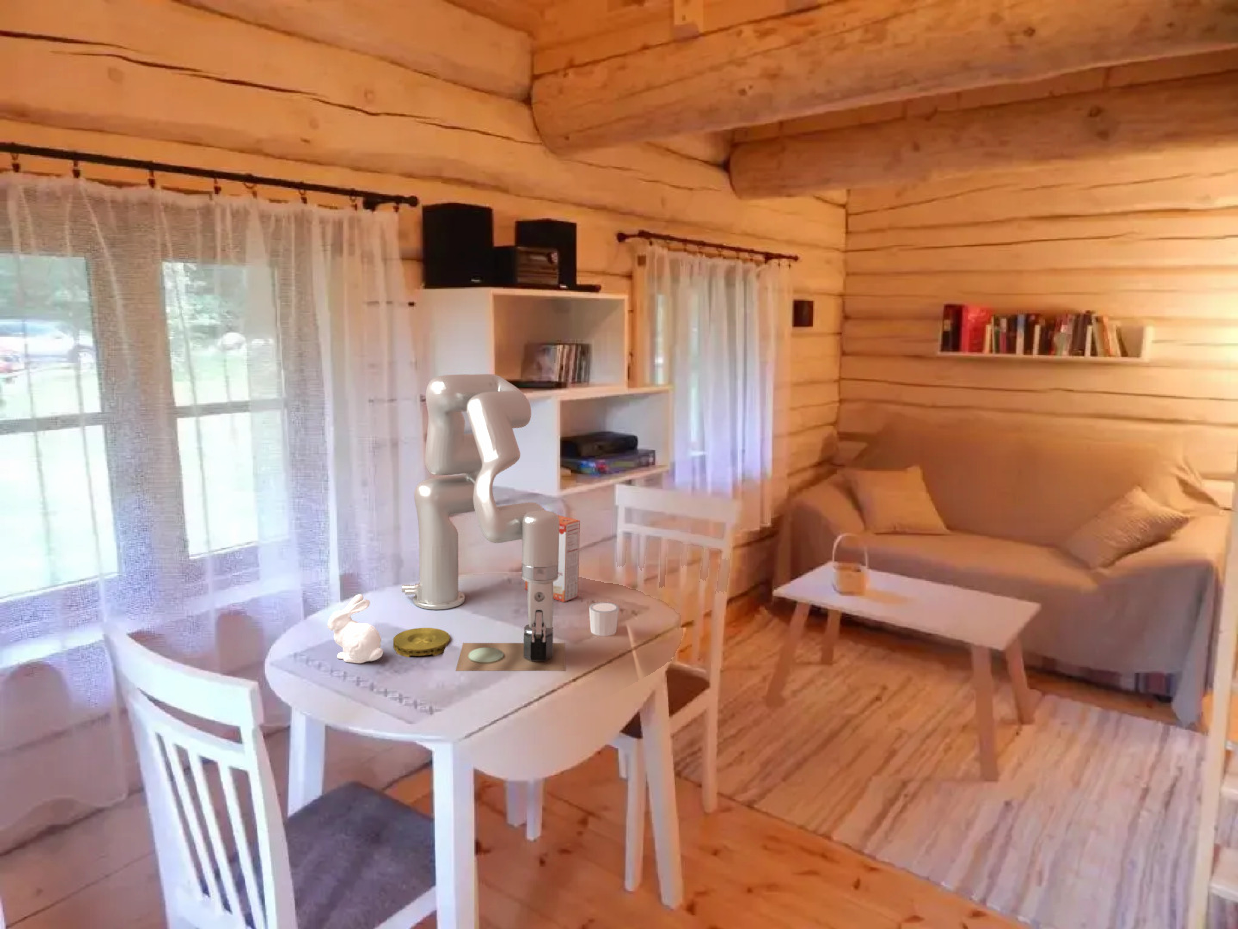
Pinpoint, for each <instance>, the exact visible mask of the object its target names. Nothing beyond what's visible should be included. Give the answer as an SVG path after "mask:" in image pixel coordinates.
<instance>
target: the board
mask: <svg viewBox="0 0 1238 929" xmlns="http://www.w3.org/2000/svg"><path fill="white" fill-rule="evenodd" d="M565 646H566V645H565V642H553V655H552V658H550V659H547V660H545V661H531V660H528V659H526V658H524V642H462V646H461V649H460V653H459V657H458V661H457V663H456V664H457V665H456V668H455V672H534V671H535V672H537V671H538V672H544V671H545V672H546V671H547V672H555V671H556V672H557V671H558V672H561V671H562V672H564V671H565V672H566V653H565V652H566V651H565Z"/></svg>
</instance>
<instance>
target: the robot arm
mask: <svg viewBox="0 0 1238 929" xmlns="http://www.w3.org/2000/svg"><path fill="white" fill-rule="evenodd" d="M425 404H426V409H427V414H428V423H427V430H426V431H427V432H426V441H425V442H426V443H425V452H424V464H425V467H426V468H425V469H426V470H427V471H428V472H429V473H430V474H432V475H435V476H437V477H431V478H428V479H425V480H422V481H421V482H419V483H418V484H417V486H415V489H414V492H413V493H414V494H413V495H414V497H413V498H414V504H415V510H416V513H417V514H416V515H417V522H418V546H419V547H418V551H419V552H418V557H419V561H418V562H419V563H418V564H419V567H418V568H419V581H418V583H415V584H402V586H401V593H404V594H405V595H408V596H411V595H414V596H413V600H412V601H413V604H414V606H416V607H418V608H422V609H426V610H446V609H447V610H448V609H453V608H456V607H458V606H461V605H463V603H464V602H465V601H466V600H465V598H466V597H465V594H464V593H463V592H461V591H460V590H459V532H458V529H457V527H456V526H455V524H454V523H453V522H452V520H451V519H450V516H453V515H458V514H459V515H460V514H465V513H471V512H475V515H476V519H477V522H478V524H479V527H480V530H481V533H482V534H483V536H484V538H485V539H486V540H487V541H489V542H491V543H493V544H501V543H507V542H512V541H513V542H514V541H518V540H519V541H520V540H521V579H522V580H523V581H524V582H525V581H527V582H528V588H527V590H526V591H527V592H526V593H527V595H526V597H527V598H526V599H527V620H528V624H529V627H530V628H531V629H532V641H531V656H530V658H531V660H545V659H546V641H545V629H546V628H549V629H551V628H552V627H553V625H554V624H553V621H554V599H553V581H556V580H557V579H558V560H559V517H558V516H557V515H558V514H557V513H555V512H554V511H550V510H546V508H544V507H543V506H542V505H540V504H539V503H537V502H529V501H528V502H524V503H523V502H522V503H521V502H520V503H514V504H507V505H502V506H501V505H500V506H499V505H498V506H497V502H496V500H495V497H494V493H493V492H494V491H493V486H494V480H495V478H496V476H497V475H499V474H500V473H502V472H503V471H505V470H507V469H509V468H510V467H512V466H513V465H515V464H517V462H518V461H519V460H520V458H521V451H520V448H519V444H518V442H517V439H516V436H515V432H514V429H520V428H524V427H526V426H527V425H529V423H530V421H531V418H532V408H531V405H530V402H529V399H528V398H527V396H526V395H525V394H524V392H522V390H520V388H518V387H517V386H515V385H514V384H512V383H511V382H509V381H507V380H506V379H505V378H503V377H501V376H500V375H496V374H490V373H489V374H488V373H481V374H480V373H478V374H476V373H475V374H446V375H445V374H444V375H438V376H435V377H433V378H432V379H431V380H430V381H429V383H428V384H427V386H426V391H425ZM464 412H466V415H467V418H468V421H469V425H470V429H471V431H472V433H468V434H467V433H466V434H465V427H466V426H465V425H466V421H465V417H464V415H463V413H464ZM534 624H536V627H534ZM542 624H544V627H542ZM535 630H536V633H535ZM542 630H543V633H542ZM534 638H535V639H534Z"/></svg>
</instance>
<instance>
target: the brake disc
mask: <svg viewBox="0 0 1238 929" xmlns="http://www.w3.org/2000/svg"><path fill="white" fill-rule="evenodd" d="M450 641H451V636H450V634H449V633H448V632H447V631H445V630H444V629H443V630H442V629H439V628H434V627H416V628H412V629H407V630H404V631H401V632H399V633H397V634H396V635H395V636H394V637H393V639H392V644H393V646H392V647H393V650H394V651H395V652H396V654H397V655H399V656H402V657H406V658H410V657H411V656H412V657H413V656H415V657H416V656H418V657H420V656H428V655H432V656H434V657H435V656H437V655H438V656H439V655H441V654H443V653H445V650H446V647H447V646H448V644H450Z"/></svg>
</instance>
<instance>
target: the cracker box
mask: <svg viewBox="0 0 1238 929" xmlns="http://www.w3.org/2000/svg"><path fill="white" fill-rule="evenodd" d="M557 516H558V517H559V560H558V579H557V580H556V581H553V600H557V601H559V602H562V603H566V602H568V601H571V600H573V599H576V598H578V597H579V580H580V579H579V575H580V538H581V537H580V531H581V520H579V519H575V518H571V517H567V516H562V515H560V514H557ZM524 584H525V588H524V590H526V591H527V588H528V582H527V581H525V580H524Z"/></svg>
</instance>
